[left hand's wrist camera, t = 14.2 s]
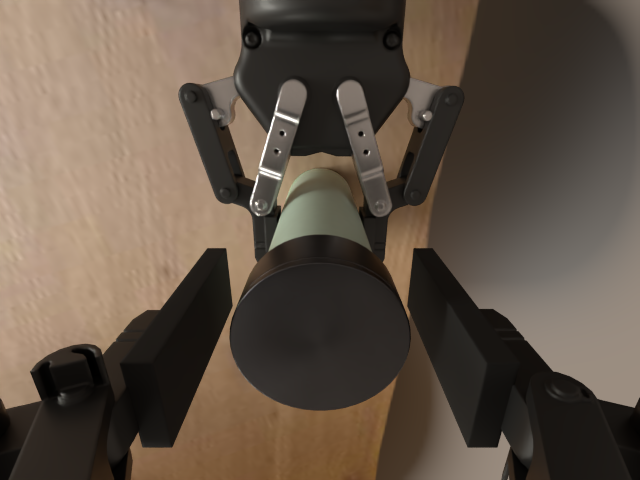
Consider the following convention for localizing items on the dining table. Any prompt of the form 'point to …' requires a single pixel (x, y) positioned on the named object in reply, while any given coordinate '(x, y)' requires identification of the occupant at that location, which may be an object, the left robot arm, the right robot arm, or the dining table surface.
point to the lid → (320, 324)
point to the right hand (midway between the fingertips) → (320, 268)
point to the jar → (320, 209)
